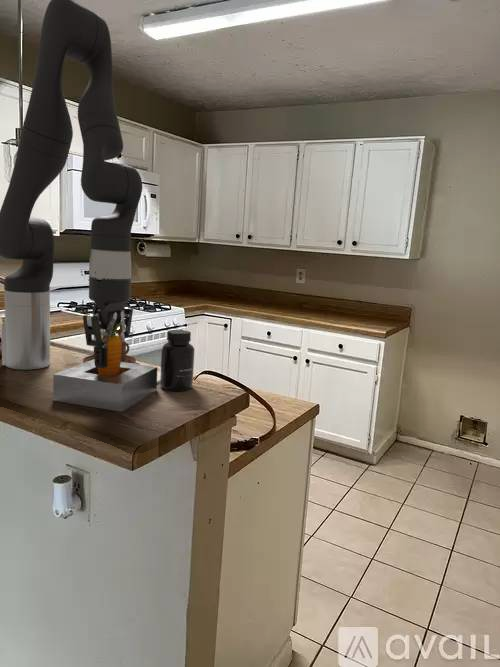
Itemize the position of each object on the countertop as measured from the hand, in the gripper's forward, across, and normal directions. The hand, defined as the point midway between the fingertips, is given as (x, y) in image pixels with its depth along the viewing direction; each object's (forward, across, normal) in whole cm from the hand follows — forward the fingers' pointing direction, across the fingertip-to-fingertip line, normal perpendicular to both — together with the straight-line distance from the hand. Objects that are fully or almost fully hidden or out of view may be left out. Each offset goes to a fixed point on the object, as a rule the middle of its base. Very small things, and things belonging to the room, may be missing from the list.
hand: (108, 363), depth 93 cm
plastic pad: (+6, -15, +1) cm, 16 cm away
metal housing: (+6, 0, 0) cm, 6 cm away
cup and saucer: (+7, -19, -11) cm, 23 cm away
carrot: (+6, 0, 0) cm, 6 cm away
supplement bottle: (+7, -11, +10) cm, 16 cm away
